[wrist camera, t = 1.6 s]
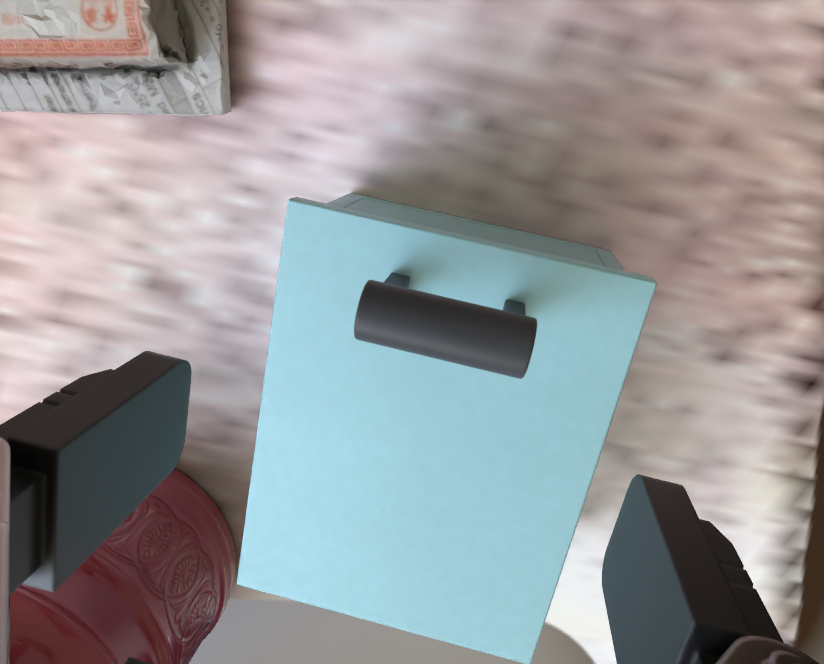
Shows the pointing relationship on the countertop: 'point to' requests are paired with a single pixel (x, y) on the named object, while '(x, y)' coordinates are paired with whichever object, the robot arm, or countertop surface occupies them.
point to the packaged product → (115, 57)
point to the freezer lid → (431, 424)
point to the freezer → (478, 230)
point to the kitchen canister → (135, 588)
